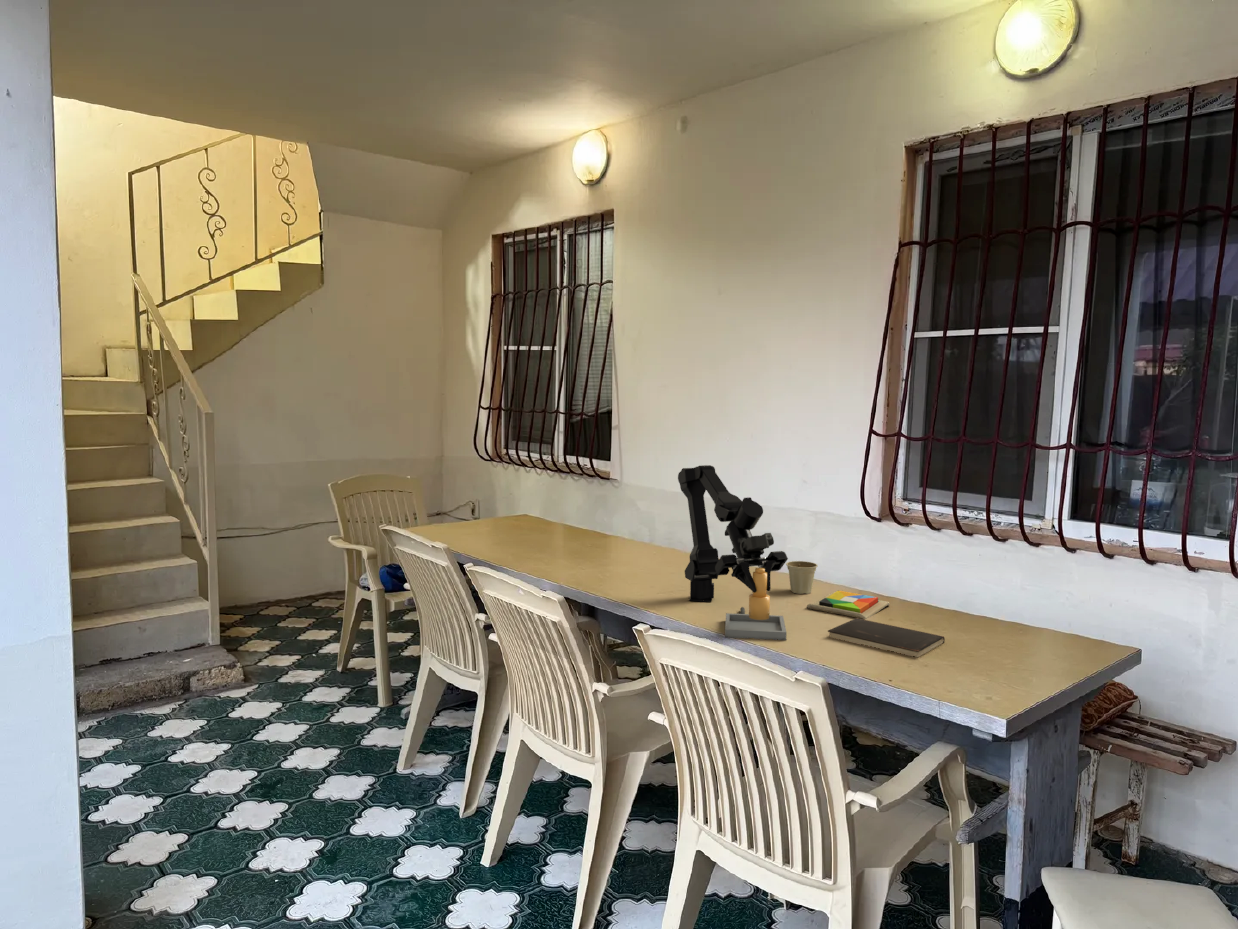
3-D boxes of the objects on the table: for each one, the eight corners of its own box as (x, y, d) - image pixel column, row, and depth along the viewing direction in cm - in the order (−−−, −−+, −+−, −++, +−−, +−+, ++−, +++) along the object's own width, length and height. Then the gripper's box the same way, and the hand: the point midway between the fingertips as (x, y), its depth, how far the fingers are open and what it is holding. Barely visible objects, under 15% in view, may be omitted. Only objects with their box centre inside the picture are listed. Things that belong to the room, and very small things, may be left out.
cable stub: (740, 620, 217) (740, 616, 217) (740, 610, 227) (740, 606, 227) (745, 621, 217) (745, 616, 217) (744, 610, 227) (744, 606, 227)
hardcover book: (917, 660, 188) (918, 651, 187) (827, 639, 203) (827, 630, 203) (944, 645, 199) (944, 635, 199) (857, 626, 215) (857, 617, 215)
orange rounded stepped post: (745, 617, 207) (746, 569, 206) (753, 613, 211) (754, 565, 210) (764, 621, 204) (765, 572, 203) (772, 616, 208) (773, 568, 207)
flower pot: (817, 596, 244) (818, 568, 243) (785, 594, 245) (786, 566, 245) (816, 589, 253) (817, 561, 252) (785, 587, 255) (786, 560, 254)
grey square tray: (725, 637, 203) (725, 629, 202) (725, 620, 217) (725, 613, 217) (786, 640, 200) (786, 632, 200) (782, 623, 215) (783, 615, 215)
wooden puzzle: (805, 610, 230) (805, 598, 230) (834, 597, 245) (834, 586, 244) (864, 622, 219) (864, 609, 219) (891, 607, 233) (891, 595, 233)
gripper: (720, 524, 206) (740, 576, 197) (785, 520, 212) (807, 571, 203) (706, 548, 214) (725, 600, 205) (768, 544, 220) (789, 594, 211)
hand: (762, 591), depth 206 cm, fingers closed on orange rounded stepped post, 4 cm apart
